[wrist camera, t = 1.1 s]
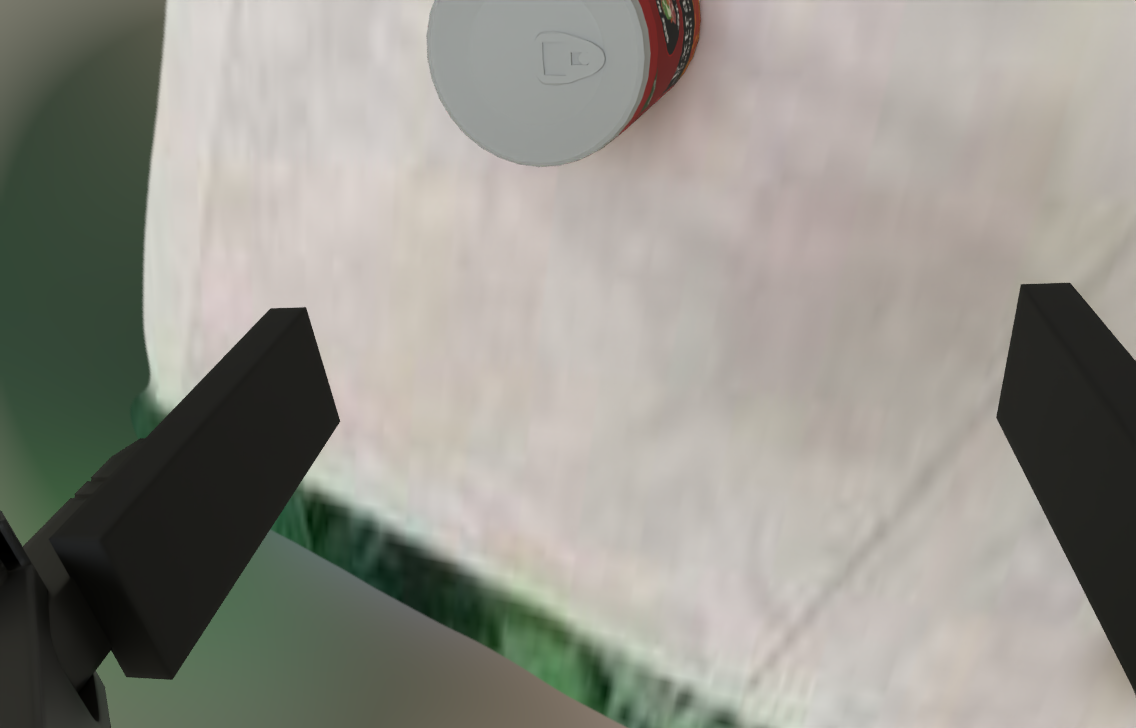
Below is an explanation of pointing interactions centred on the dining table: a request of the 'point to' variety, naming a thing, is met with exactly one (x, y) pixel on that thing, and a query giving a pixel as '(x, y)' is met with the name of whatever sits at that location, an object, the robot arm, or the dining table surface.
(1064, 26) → the dining table surface
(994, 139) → the dining table surface
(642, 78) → the canned food
